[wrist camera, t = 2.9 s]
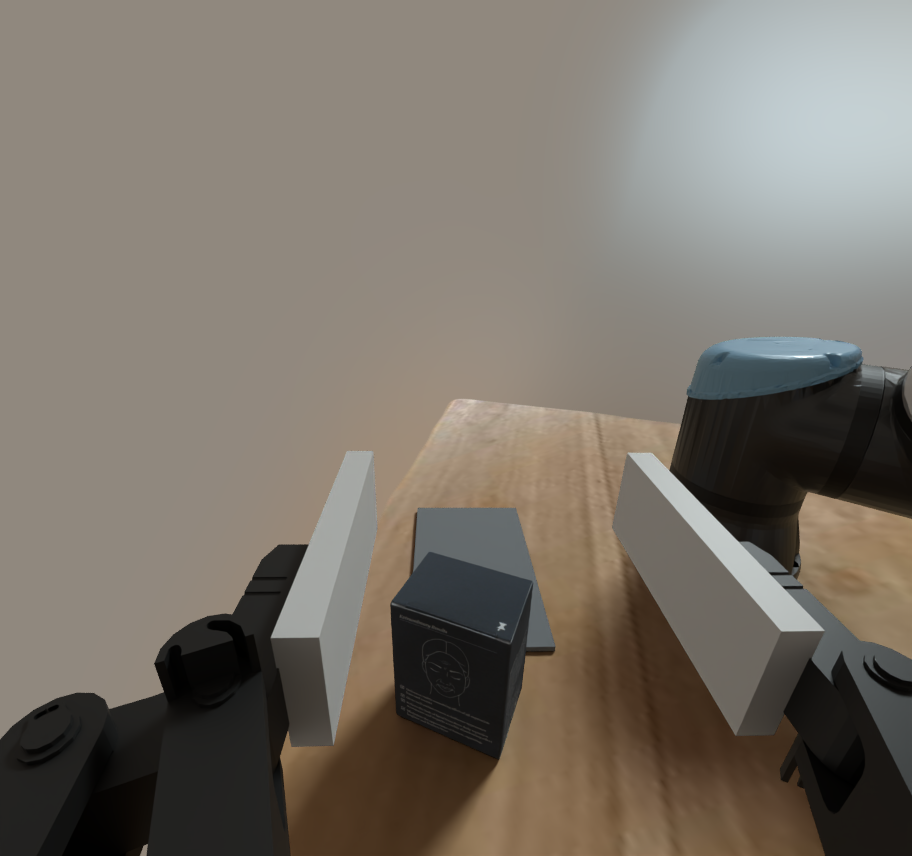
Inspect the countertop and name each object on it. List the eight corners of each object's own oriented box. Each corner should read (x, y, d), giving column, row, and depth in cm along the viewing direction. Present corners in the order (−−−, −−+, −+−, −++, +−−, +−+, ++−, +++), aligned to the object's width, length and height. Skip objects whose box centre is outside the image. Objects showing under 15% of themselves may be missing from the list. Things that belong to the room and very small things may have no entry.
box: (522, 688, 34) (535, 579, 29) (499, 763, 29) (512, 645, 24) (428, 652, 36) (428, 547, 32) (393, 715, 31) (387, 601, 27)
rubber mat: (417, 511, 54) (417, 507, 54) (515, 511, 55) (515, 507, 55) (408, 653, 36) (408, 648, 36) (554, 651, 37) (555, 646, 36)
